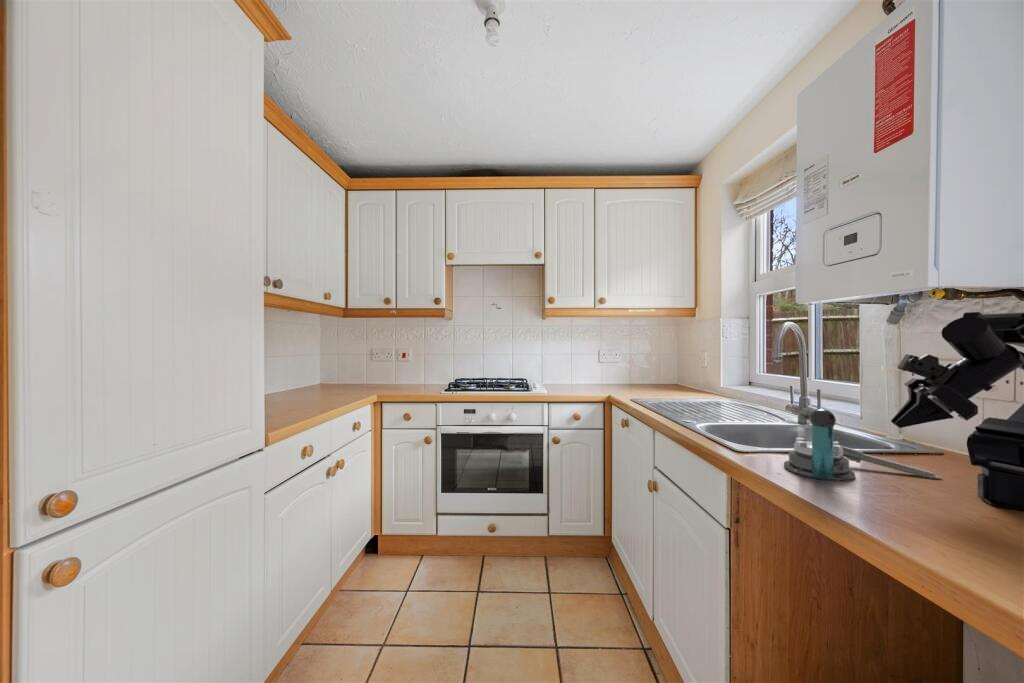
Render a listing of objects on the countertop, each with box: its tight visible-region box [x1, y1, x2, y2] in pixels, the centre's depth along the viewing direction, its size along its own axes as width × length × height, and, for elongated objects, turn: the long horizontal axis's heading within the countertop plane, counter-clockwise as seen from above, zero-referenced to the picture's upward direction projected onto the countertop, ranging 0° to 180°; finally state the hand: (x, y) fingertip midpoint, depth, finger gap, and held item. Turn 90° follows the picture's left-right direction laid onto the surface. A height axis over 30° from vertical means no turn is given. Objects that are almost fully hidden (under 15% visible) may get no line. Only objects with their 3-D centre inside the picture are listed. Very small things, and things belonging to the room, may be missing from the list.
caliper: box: [835, 440, 943, 480], centre depth 94 cm, size 20×1×6 cm, turn 54°
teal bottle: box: [793, 408, 843, 479], centre depth 90 cm, size 9×16×14 cm, turn 148°
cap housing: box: [783, 449, 856, 482], centre depth 93 cm, size 13×13×4 cm
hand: (894, 424), depth 80 cm, fingers open, 3 cm apart
